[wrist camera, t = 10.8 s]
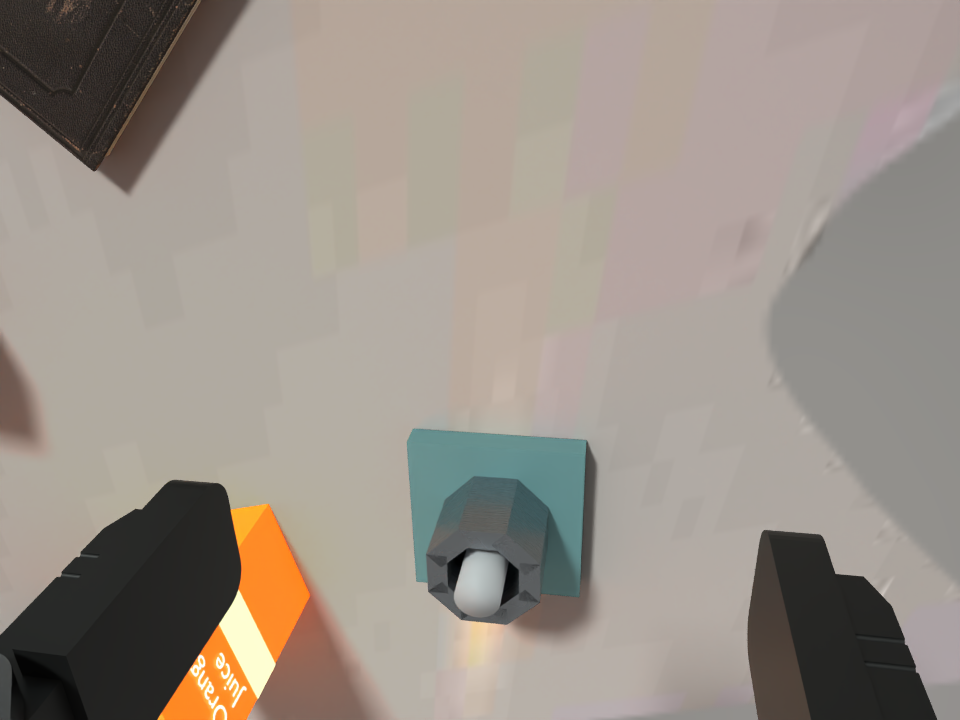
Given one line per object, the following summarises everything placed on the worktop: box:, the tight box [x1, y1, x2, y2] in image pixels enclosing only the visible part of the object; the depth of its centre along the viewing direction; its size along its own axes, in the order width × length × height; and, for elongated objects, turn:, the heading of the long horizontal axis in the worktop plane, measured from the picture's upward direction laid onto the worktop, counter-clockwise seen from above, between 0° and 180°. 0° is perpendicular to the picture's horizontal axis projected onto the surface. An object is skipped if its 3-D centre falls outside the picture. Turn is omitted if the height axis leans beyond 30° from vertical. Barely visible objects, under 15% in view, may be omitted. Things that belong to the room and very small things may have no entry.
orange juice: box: [157, 504, 310, 720], centre depth 44 cm, size 8×9×20 cm
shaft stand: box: [407, 429, 587, 618], centre depth 44 cm, size 10×10×8 cm
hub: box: [426, 476, 549, 625], centre depth 44 cm, size 6×6×5 cm
